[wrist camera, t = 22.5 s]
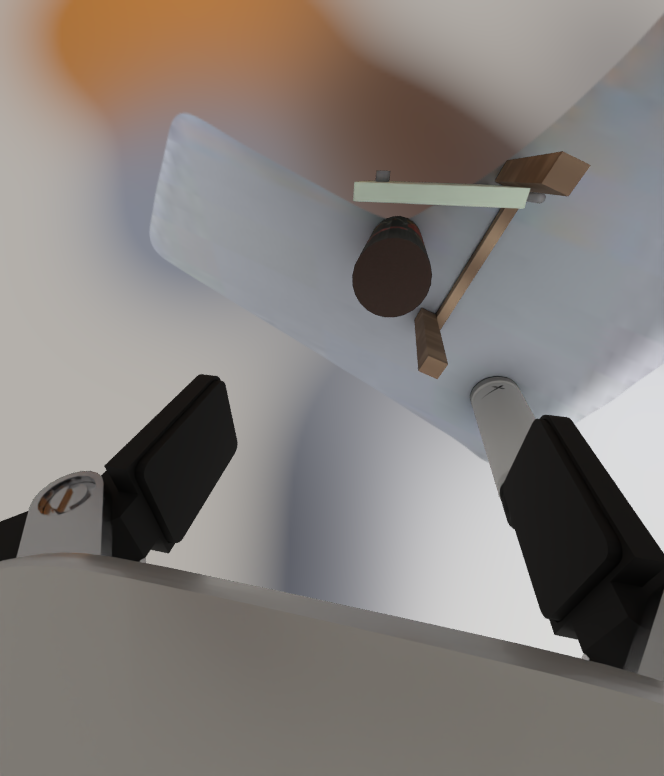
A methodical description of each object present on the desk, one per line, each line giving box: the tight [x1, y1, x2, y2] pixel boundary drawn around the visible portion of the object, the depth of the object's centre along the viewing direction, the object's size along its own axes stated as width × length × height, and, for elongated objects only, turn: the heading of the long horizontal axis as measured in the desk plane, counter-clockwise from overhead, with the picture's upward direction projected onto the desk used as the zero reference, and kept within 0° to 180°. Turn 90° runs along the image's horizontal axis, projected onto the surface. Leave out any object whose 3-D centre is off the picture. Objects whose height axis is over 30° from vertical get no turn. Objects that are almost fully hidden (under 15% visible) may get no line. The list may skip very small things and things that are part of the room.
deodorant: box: [352, 216, 432, 317], centre depth 30 cm, size 6×6×15 cm
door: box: [353, 171, 546, 209], centre depth 27 cm, size 14×2×12 cm, turn 88°
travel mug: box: [470, 377, 535, 529], centre depth 36 cm, size 6×7×20 cm
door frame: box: [414, 151, 590, 379], centre depth 30 cm, size 18×3×13 cm, turn 159°
